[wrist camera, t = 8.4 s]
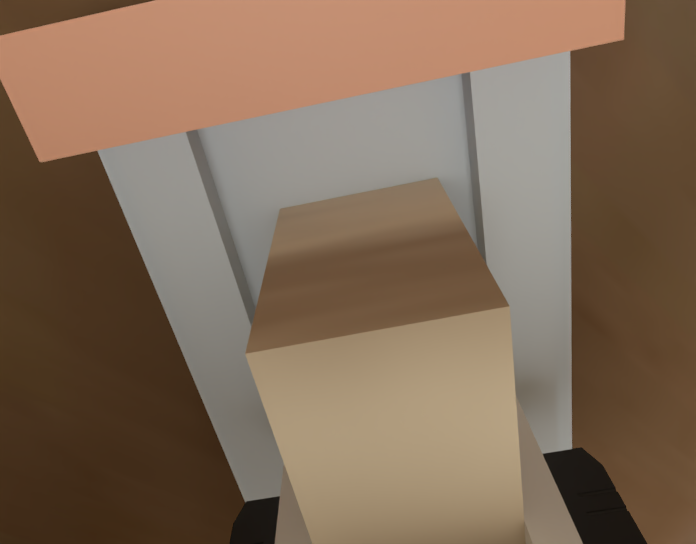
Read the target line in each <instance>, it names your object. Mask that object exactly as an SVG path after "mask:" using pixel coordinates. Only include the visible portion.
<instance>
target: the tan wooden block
mask: <svg viewBox="0 0 696 544" xmlns="http://www.w3.org/2000/svg"><path fill="white" fill-rule="evenodd" d="M245 355H246V358H247V361H248V364H249V366H250V369H251V372H252V375H253V378H254V380H255V383H256V386H257V389H258V392H259V395H260V397H261V400H262V403H263V406H264V409H265V411H266V414H267V417H268V420H269V423H270V426H271V428H272V431H273V434H274V437H275V440H276V442H277V445H278V448H279V451H280V454H281V457H282V459H283V462H284V465H285V468H286V471H287V473H288V476H289V479H290V482H291V485H292V488H293V490H294V493H295V496H296V499H297V502H298V505H299V507H300V510H301V513H302V516H303V519H304V521H305V524H306V527H307V530H308V533H309V536H310V538H311V541H312V544H526V542H525V527H524V508H523V493H522V479H521V464H520V449H519V435H518V420H517V405H516V391H515V376H514V361H513V347H512V332H511V317H510V306H509V304H508V302H507V300H506V299H505V297H504V295H503V293H502V292H501V290H500V288H499V286H498V284H497V283H496V281H495V279H494V277H493V275H492V274H491V272H490V270H489V268H488V267H487V265H486V263H485V261H484V259H483V258H482V256H481V254H480V252H479V251H478V249H477V247H476V245H475V243H474V242H473V240H472V238H471V236H470V234H469V233H468V231H467V229H466V227H465V226H464V224H463V222H462V220H461V218H460V217H459V215H458V213H457V211H456V210H455V208H454V206H453V204H452V202H451V201H450V199H449V197H448V195H447V194H446V192H445V190H444V188H443V186H442V185H441V183H440V181H439V179H438V178H433V179H427V180H422V181H417V182H412V183H407V184H402V185H397V186H392V187H387V188H382V189H377V190H372V191H367V192H362V193H357V194H352V195H347V196H342V197H337V198H331V199H326V200H321V201H316V202H311V203H306V204H301V205H296V206H291V207H286V208H281V209H280V211H279V215H278V219H277V223H276V227H275V231H274V236H273V240H272V244H271V248H270V252H269V256H268V261H267V265H266V269H265V273H264V277H263V281H262V285H261V290H260V294H259V298H258V302H257V306H256V310H255V315H254V319H253V323H252V327H251V331H250V335H249V340H248V344H247V348H246V352H245Z"/></svg>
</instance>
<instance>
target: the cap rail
mask: <svg viewBox="0 0 696 544" xmlns="http://www.w3.org/2000/svg"><path fill="white" fill-rule="evenodd" d="M624 24H625V0H154V1H150V2H146V3H141V4H137V5H132V6H128V7H124V8H119V9H115V10H110V11H106V12H102V13H97V14H93V15H89V16H84V17H80V18H75V19H71V20H67V21H62V22H58V23H53V24H49V25H45V26H40V27H36V28H31V29H27V30H23V31H18V32H14V33H9V34H5V35H1V36H0V80H1V82H2V84H3V86H4V88H5V90H6V92H7V94H8V96H9V98H10V101H11V103H12V105H13V107H14V109H15V111H16V113H17V115H18V117H19V119H20V122H21V124H22V126H23V128H24V130H25V132H26V134H27V136H28V138H29V140H30V143H31V145H32V147H33V149H34V151H35V153H36V155H37V157H38V159H39V162H45V161H50V160H55V159H59V158H64V157H69V156H74V155H78V154H83V153H88V152H93V151H98V153H99V156H100V158H101V160H102V163H103V165H104V168H105V170H106V172H107V175H108V177H109V179H110V182H111V184H112V187H113V189H114V191H115V194H116V196H117V198H118V201H119V203H120V206H121V208H122V210H123V213H124V215H125V218H126V220H127V222H128V225H129V227H130V229H131V232H132V234H133V237H134V239H135V241H136V244H137V246H138V248H139V251H140V253H141V256H142V258H143V260H144V263H145V265H146V267H147V270H148V272H149V275H150V277H151V279H152V282H153V284H154V287H155V289H156V291H157V294H158V296H159V298H160V301H161V303H162V306H163V308H164V310H165V313H166V315H167V317H168V320H169V322H170V325H171V327H172V329H173V332H174V334H175V336H176V339H177V341H178V344H179V346H180V348H181V351H182V353H183V355H184V358H185V360H186V363H187V365H188V367H189V370H190V372H191V375H192V377H193V379H194V382H195V384H196V386H197V389H198V391H199V394H200V396H201V398H202V401H203V403H204V405H205V408H206V410H207V413H208V415H209V417H210V420H211V422H212V424H213V427H214V429H215V432H216V434H217V436H218V439H219V441H220V444H221V446H222V448H223V451H224V453H225V455H226V458H227V460H228V463H229V465H230V467H231V470H232V472H233V474H234V477H235V479H236V482H237V484H238V486H239V489H240V491H241V493H242V496H243V498H244V501H245V503H246V502H247V501H251V500H258V499H264V498H271V497H277V496H280V491H281V483H282V474H283V465H284V462H283V459H282V457H281V454H280V451H279V448H278V445H277V442H276V440H275V437H274V434H273V431H272V428H271V426H270V423H269V420H268V417H267V414H266V411H265V409H264V406H263V403H262V400H261V397H260V395H259V392H258V389H257V386H256V383H255V380H254V378H253V375H252V372H251V369H250V366H249V364H248V361H247V358H246V355H245V352H246V348H247V344H248V340H249V335H250V331H251V327H252V323H253V319H254V315H255V310H256V306H257V302H258V298H259V294H260V290H261V285H262V281H263V277H264V273H265V269H266V265H267V261H268V256H269V252H270V248H271V244H272V240H273V236H274V231H275V227H276V223H277V219H278V215H279V211H280V209H281V208H286V207H291V206H296V205H301V204H306V203H311V202H316V201H321V200H326V199H331V198H337V197H342V196H347V195H352V194H357V193H362V192H367V191H372V190H377V189H382V188H387V187H392V186H397V185H402V184H407V183H412V182H417V181H422V180H427V179H433V178H438V179H439V181H440V183H441V185H442V186H443V188H444V190H445V192H446V194H447V195H448V197H449V199H450V201H451V202H452V204H453V206H454V208H455V210H456V211H457V213H458V215H459V217H460V218H461V220H462V222H463V224H464V226H465V227H466V229H467V231H468V233H469V234H470V236H471V238H472V240H473V242H474V243H475V245H476V247H477V249H478V251H479V252H480V254H481V256H482V258H483V259H484V261H485V263H486V265H487V267H488V268H489V270H490V272H491V274H492V275H493V277H494V279H495V281H496V283H497V284H498V286H499V288H500V290H501V292H502V293H503V295H504V297H505V299H506V300H507V302H508V304H509V306H510V317H511V332H512V347H513V361H514V376H515V391H516V397H517V399H518V401H519V403H520V406H521V408H522V410H523V412H524V414H525V417H526V419H527V421H528V423H529V425H530V428H531V430H532V432H533V434H534V436H535V439H536V441H537V443H538V445H539V448H540V450H541V452H542V454H544V453H550V452H556V451H563V450H569V449H572V349H571V132H570V51H572V50H577V49H581V48H586V47H591V46H596V45H600V44H605V43H610V42H615V41H619V40H624Z"/></svg>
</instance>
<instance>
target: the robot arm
mask: <svg viewBox="0 0 696 544" xmlns="http://www.w3.org/2000/svg"><path fill="white" fill-rule="evenodd" d="M516 405H517V420H518V435H519V449H520V464H521V479H522V493H523V508H524V527H525V542H526V544H647V543H646V541H645V539H644V537H643V536H642V534H641V532H640V530H639V529H638V527H637V525H636V523H635V521H634V520H633V518H632V516H631V514H630V513H629V511H627V509H626V506H625V504H624V502H623V500H622V499H621V497H620V495H619V493H618V492H616V489H615V486H614V485H613V483H612V481H611V479H610V478H609V476H608V474H607V472H606V470H605V469H604V467H603V465H602V464H600V463H599V462H598V461H597V460H596V459H595V458H593V457H592V456H591V455H590V454H589V453H587V452H586V451H585V450H584V449H583V448H575V449H569V450H563V451H556V452H550V453H544V454H542V452H541V450H540V448H539V445H538V443H537V441H536V439H535V436H534V434H533V432H532V430H531V428H530V425H529V423H528V421H527V419H526V417H525V414H524V412H523V410H522V408H521V406H520V403H519V401H518V399H517V397H516ZM230 544H312V541H311V538H310V536H309V533H308V530H307V527H306V524H305V521H304V519H303V516H302V513H301V510H300V507H299V505H298V502H297V499H296V496H295V493H294V490H293V488H292V485H291V482H290V479H289V476H288V473H287V471H286V468H285V465H283V474H282V483H281V491H280V496H277V497H271V498H264V499H258V500H251V501H247V502H246V503H245V505H244V507H243V508H242V510H241V512H240V513H239V515H238V517H237V518H236V520H235V522H234V523H233V529H232V534H231V539H230Z"/></svg>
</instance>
